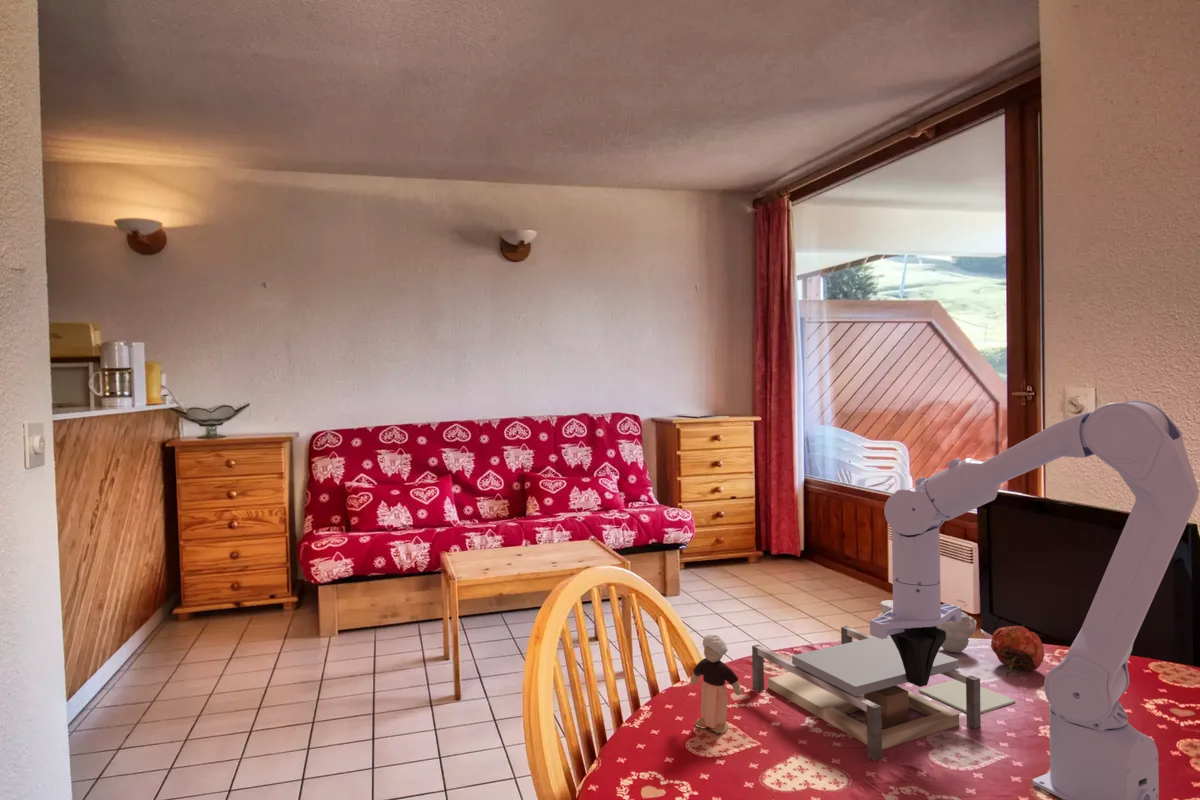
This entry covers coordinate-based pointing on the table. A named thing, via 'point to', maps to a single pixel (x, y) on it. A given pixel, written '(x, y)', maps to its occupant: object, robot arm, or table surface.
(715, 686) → the grandmother figurine
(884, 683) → the sliding cover
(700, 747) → the table surface
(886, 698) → the walnut block
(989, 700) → the rubber mat
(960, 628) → the frog figurine
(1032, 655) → the red rounded fruit
